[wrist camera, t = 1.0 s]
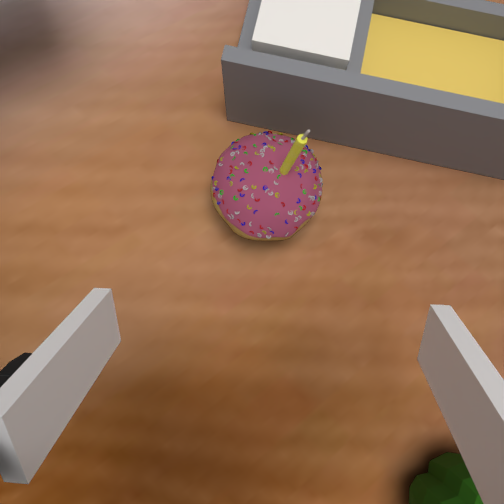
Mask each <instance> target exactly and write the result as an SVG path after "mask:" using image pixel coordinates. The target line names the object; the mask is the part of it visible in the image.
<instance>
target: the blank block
mask: <svg viewBox="0 0 504 504" xmlns="http://www.w3.org/2000/svg"><path fill="white" fill-rule="evenodd" d="M360 3H361V0H262V1H261V5H260V9H259V13H258V17H257V21H256V25H255V29H254V33H253V37H252V51H257V52H262V53H266V54H271V55H276V56H281V57H285V58H290V59H295V60H300V61H304V62H309V63H314V64H319V65H323V66H328V67H333V68H337V69H342V70H345V69H346V67H347V65H348V62H349V59H350V54H351V49H352V44H353V39H354V34H355V29H356V24H357V19H358V14H359V9H360Z"/></svg>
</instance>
